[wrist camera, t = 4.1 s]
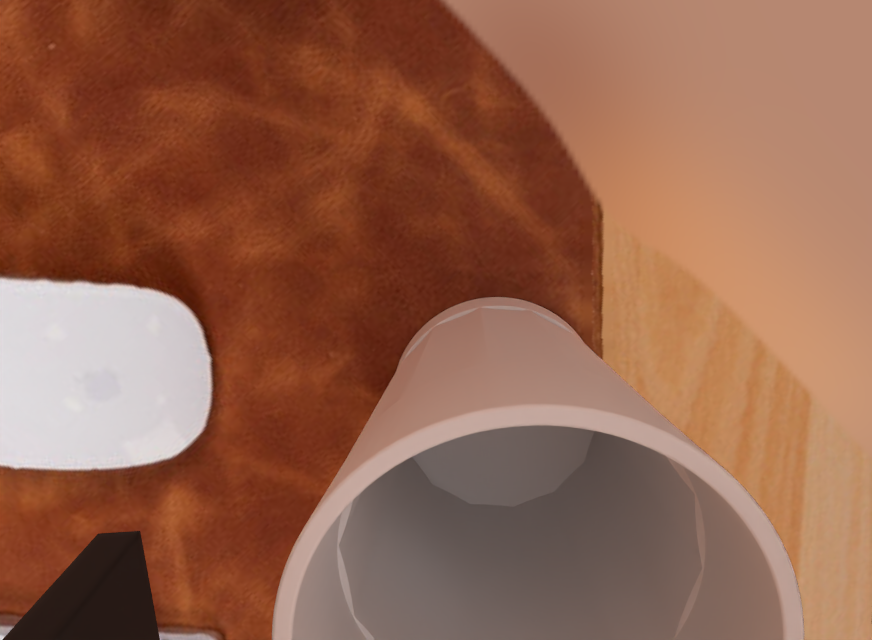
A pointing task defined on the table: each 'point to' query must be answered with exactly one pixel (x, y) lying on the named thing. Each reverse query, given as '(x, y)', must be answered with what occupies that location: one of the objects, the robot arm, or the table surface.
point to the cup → (530, 507)
